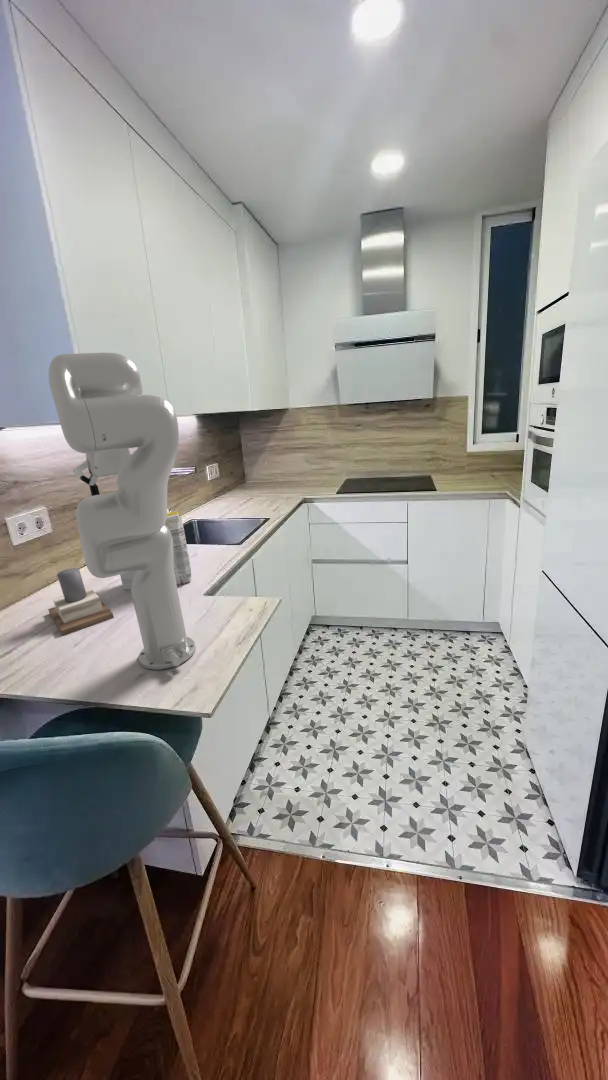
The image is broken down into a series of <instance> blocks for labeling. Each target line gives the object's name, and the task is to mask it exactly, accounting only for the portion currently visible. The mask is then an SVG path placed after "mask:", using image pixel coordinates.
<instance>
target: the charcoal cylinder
mask: <svg viewBox="0 0 608 1080" xmlns="http://www.w3.org/2000/svg"><path fill="white" fill-rule="evenodd" d="M57 579H58V582H59V586H60V588H61V592H62V594H63V595H62V596H64V598H65V602H67V603H72V602H77V601H80V600H82V599H84V598H85V597H86V596H87V595H86V591H85V589H86V588H85V585H84V581H83V577H82V574H81V571H80V568H78V567H72V568H66V569H64V570H61V571H59V572H58V573H57Z"/></svg>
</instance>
